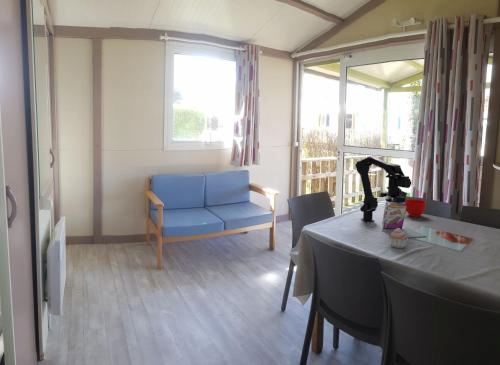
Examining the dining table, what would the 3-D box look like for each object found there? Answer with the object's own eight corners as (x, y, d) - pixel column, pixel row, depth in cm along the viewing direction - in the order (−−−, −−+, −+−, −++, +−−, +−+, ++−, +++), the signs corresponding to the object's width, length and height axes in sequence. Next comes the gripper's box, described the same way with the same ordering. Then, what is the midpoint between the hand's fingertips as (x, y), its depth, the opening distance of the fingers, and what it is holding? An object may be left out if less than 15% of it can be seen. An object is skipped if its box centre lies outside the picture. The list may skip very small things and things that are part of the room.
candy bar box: (383, 229, 234) (387, 205, 226) (381, 224, 238) (385, 201, 230) (402, 229, 233) (407, 206, 225) (400, 224, 237) (404, 201, 229)
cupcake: (411, 248, 198) (412, 229, 197) (395, 250, 196) (397, 231, 194) (399, 243, 207) (400, 224, 206) (384, 244, 205) (385, 226, 203)
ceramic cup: (395, 213, 271) (396, 199, 269) (418, 213, 273) (419, 199, 271) (404, 218, 258) (405, 203, 257) (428, 217, 260) (429, 203, 259)
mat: (381, 230, 230) (381, 229, 230) (409, 229, 233) (409, 228, 233) (397, 238, 214) (397, 237, 214) (426, 236, 218) (426, 236, 218)
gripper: (414, 187, 225) (413, 214, 228) (396, 182, 243) (395, 207, 246) (397, 188, 223) (395, 215, 226) (380, 183, 241) (379, 208, 244)
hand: (391, 211), depth 235 cm, fingers closed
